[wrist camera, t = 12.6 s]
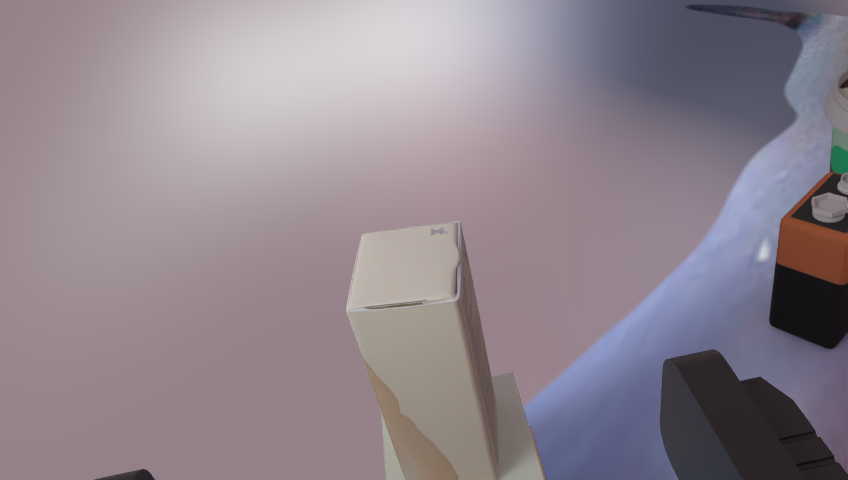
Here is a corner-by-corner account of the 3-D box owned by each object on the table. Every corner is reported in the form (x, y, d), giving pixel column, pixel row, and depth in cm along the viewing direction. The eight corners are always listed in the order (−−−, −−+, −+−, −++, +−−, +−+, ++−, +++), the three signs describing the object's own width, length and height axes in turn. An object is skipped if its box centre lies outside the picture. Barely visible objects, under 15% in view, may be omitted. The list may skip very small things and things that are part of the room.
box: (414, 404, 36) (361, 226, 30) (498, 397, 35) (462, 213, 29) (405, 494, 32) (341, 309, 25) (501, 488, 31) (459, 296, 25)
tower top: (412, 581, 34) (388, 521, 31) (400, 461, 39) (380, 401, 36) (556, 551, 33) (546, 487, 31) (523, 435, 39) (512, 372, 36)
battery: (765, 326, 48) (778, 206, 43) (812, 274, 52) (830, 156, 46) (832, 354, 46) (856, 228, 40) (877, 297, 49) (905, 173, 43)
